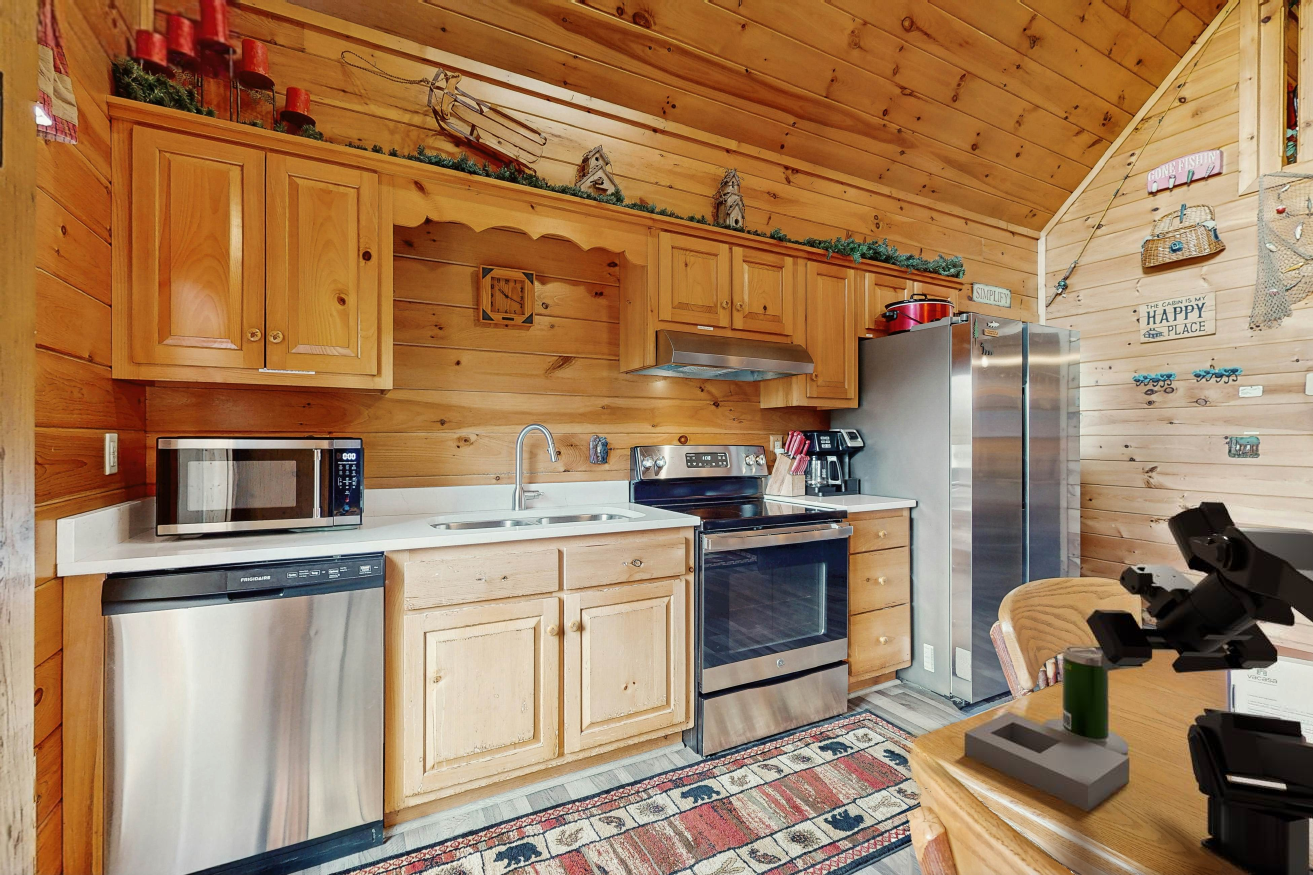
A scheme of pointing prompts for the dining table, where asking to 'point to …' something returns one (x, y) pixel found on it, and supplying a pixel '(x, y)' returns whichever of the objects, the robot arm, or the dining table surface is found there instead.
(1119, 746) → the coaster
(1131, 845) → the dining table surface
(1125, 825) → the dining table surface
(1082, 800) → the can dock
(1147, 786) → the dining table surface
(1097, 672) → the beer can
